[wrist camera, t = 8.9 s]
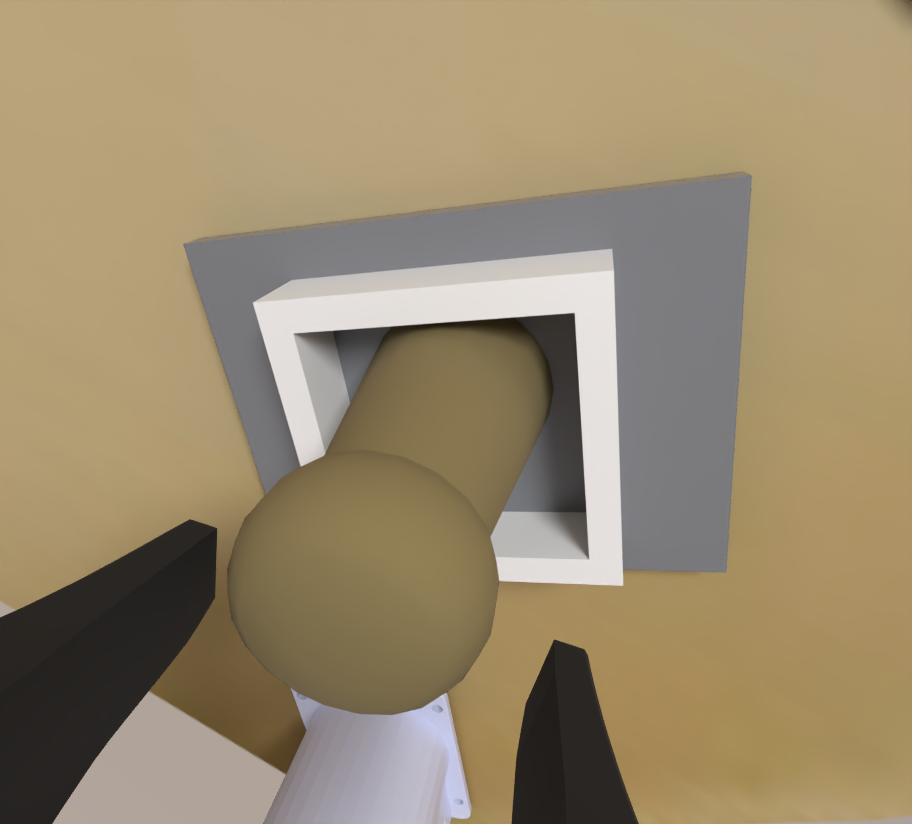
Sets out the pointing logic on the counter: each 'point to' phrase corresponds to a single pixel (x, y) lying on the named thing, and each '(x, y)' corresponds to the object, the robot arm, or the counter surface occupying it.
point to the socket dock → (556, 330)
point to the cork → (395, 522)
